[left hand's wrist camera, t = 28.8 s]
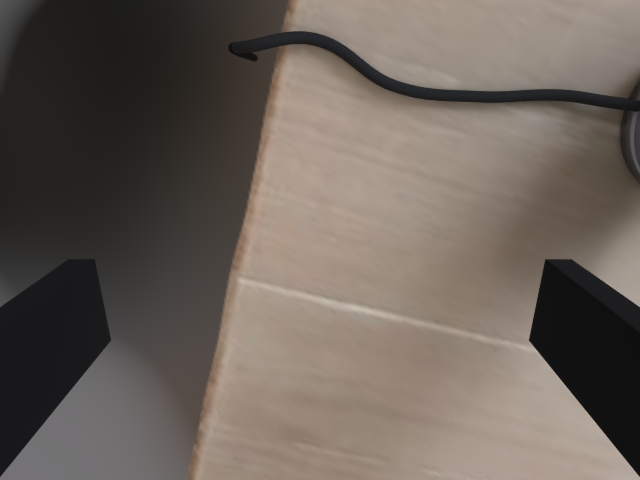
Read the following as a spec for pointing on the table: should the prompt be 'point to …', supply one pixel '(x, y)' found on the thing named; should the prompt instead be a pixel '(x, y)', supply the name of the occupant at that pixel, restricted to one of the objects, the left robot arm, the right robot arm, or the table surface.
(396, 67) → the table surface
